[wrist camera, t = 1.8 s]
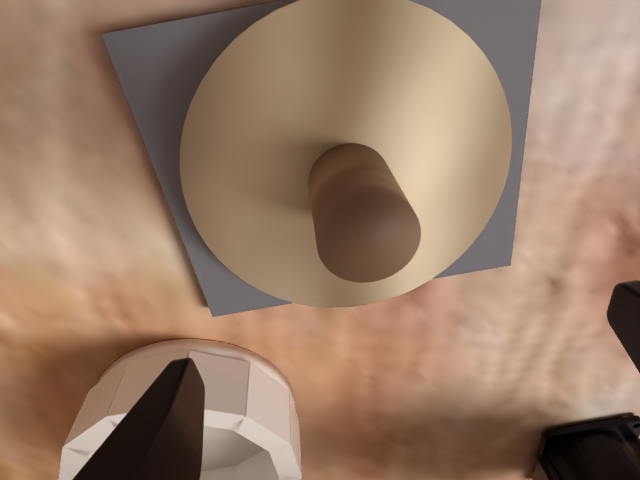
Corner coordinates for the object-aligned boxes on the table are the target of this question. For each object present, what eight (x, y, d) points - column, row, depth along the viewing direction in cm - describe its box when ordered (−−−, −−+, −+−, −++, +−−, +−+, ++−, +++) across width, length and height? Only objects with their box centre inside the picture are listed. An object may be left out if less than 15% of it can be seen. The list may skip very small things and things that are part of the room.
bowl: (273, 321, 21) (272, 388, 17) (310, 447, 27) (314, 515, 23) (54, 359, 21) (10, 433, 17) (139, 476, 27) (119, 548, 23)
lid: (515, -41, 13) (631, -50, 9) (488, 268, 19) (547, 350, 15) (132, 27, 13) (61, 51, 9) (233, 312, 19) (220, 405, 15)
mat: (536, -46, 13) (546, -47, 13) (504, 257, 20) (510, 265, 19) (107, 32, 13) (100, 34, 13) (214, 308, 20) (212, 316, 19)
